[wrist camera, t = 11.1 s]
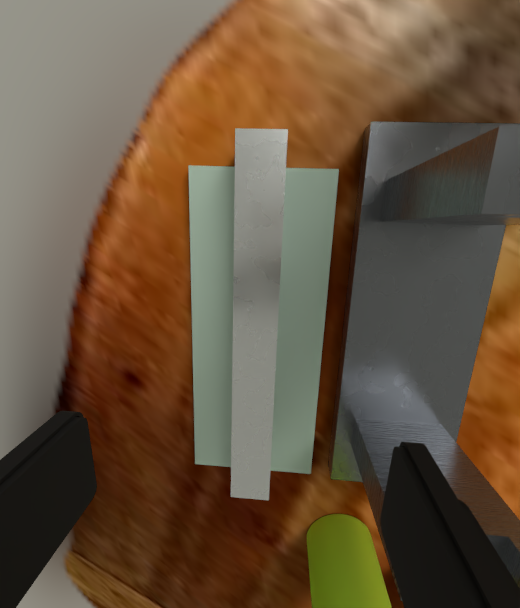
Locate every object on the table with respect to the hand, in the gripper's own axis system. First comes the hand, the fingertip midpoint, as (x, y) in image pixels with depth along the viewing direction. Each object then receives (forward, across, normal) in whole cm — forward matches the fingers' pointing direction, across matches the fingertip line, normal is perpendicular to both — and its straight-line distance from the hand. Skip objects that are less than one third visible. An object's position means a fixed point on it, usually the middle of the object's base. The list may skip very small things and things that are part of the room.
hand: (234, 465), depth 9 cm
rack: (+15, -10, 0) cm, 18 cm away
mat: (+14, +1, +2) cm, 14 cm away
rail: (+14, +1, +1) cm, 14 cm away
